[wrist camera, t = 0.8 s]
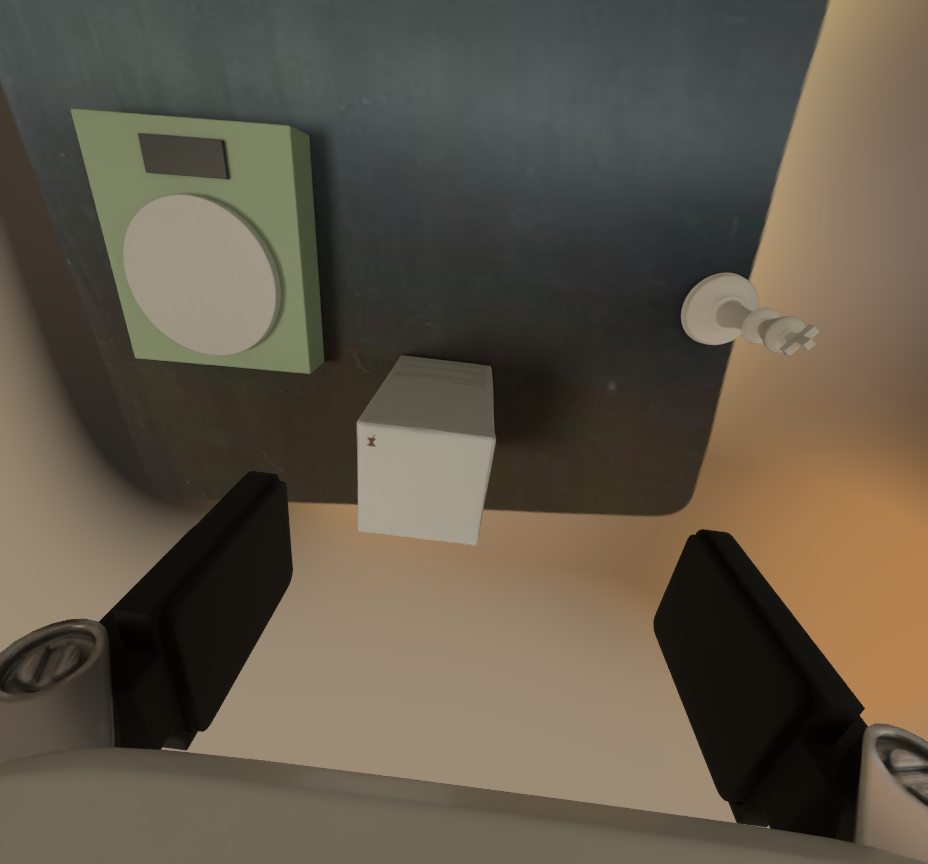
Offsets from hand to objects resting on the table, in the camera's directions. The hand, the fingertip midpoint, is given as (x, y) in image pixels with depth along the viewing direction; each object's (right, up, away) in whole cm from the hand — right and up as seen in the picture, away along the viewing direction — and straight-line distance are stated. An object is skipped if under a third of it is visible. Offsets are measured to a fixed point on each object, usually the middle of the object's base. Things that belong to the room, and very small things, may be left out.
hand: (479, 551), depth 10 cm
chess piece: (+18, +12, +21) cm, 30 cm away
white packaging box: (-2, +5, +25) cm, 26 cm away
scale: (-17, +16, +21) cm, 31 cm away
